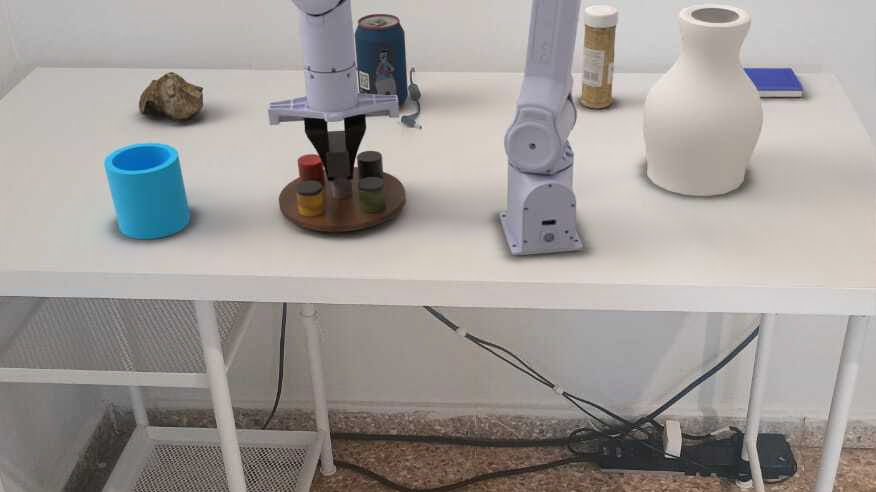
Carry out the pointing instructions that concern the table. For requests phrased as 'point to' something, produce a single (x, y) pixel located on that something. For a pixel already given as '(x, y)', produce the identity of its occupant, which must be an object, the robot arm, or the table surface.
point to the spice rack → (341, 191)
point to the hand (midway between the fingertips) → (340, 176)
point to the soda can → (381, 56)
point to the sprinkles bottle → (598, 55)
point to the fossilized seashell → (171, 98)
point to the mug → (147, 190)
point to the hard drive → (775, 82)
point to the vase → (704, 107)
